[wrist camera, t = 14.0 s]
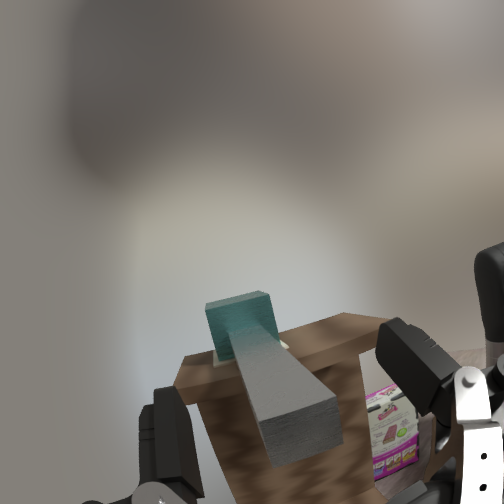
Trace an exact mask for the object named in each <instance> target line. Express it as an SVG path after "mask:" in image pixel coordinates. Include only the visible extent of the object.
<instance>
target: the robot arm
mask: <svg viewBox="0 0 504 504" xmlns="http://www.w3.org/2000/svg"><path fill="white" fill-rule="evenodd" d="M474 273H475V281H476V286H477V291H478V296H479V302H480V308H481V316H482V321H483V325H484V328H485V339H486V368H485V369H482V370H479V369H477V368H475V367H471V366H465V367H461V366H460V365H459V364H458V363H457V362H456V361H455V360H454V359H453V358H452V357H451V356H450V355H449V354H447V353H446V352H445V351H444V350H443V349H442V348H441V347H440V346H439V345H436V342H435V341H434V340H433V339H430V337H429V336H428V335H427V334H426V333H425V332H424V331H423V330H422V329H420V328H417V327H415V326H413V325H411V324H410V325H407V324H406V323H405V322H404V321H402V320H401V319H400V318H398V317H396V318H393V319H391V320H389V321H386V322H384V323H382V324H380V326H379V331H378V338H377V344H376V350H375V353H376V358H377V361H378V363H379V364H380V365H381V367H382V368H383V369H384V370H385V372H386V373H387V374H388V375H389V376H390V377H391V379H392V380H393V381H394V383H395V384H396V385H397V386H398V387H399V389H400V390H401V391H402V392H403V394H404V395H405V396H406V397H407V399H408V400H409V401H410V402H411V403H412V405H413V406H414V407H415V408H416V410H417V411H418V412H419V413H420V415H421V416H422V417H424V416H425V415H427V414H428V413H430V412H432V413H433V414H434V416H433V420H432V441H431V454H430V460H429V463H428V465H427V467H426V470H425V474H424V480H423V482H422V480H419V481H418V482H416V483H415V484H413V485H411V486H410V487H408V488H406V489H405V490H403V491H401V492H400V493H398V494H396V495H395V496H394V497H393V498H391V499H390V500H389V501H388V502H387V503H386V504H504V489H502V488H503V454H502V450H503V451H504V242H502V243H500V244H498V245H495V246H492V247H490V248H487V249H484V250H482V251H480V252H479V253H478V254H477V255H476V258H475V263H474ZM139 467H140V469H139V470H140V481H139V485H138V487H137V488H136V490H135V491H134V493H133V494H132V495H131V496H129V497H127V498H125V499H122V500H119V501H116V502H113V503H109V504H197V500H196V499H198V498H204V497H205V496H204V491H203V486H202V481H201V476H200V471H199V465H198V459H197V454H196V448H195V441H194V435H193V428H192V422H191V418H190V415H189V412H188V409H187V407H186V406H185V404H184V402H183V400H182V398H181V396H180V394H179V392H178V390H177V389H176V387H175V386H169V387H164V388H159V389H155V390H154V404H150V405H145V406H144V407H143V409H142V412H141V414H140V416H139ZM82 504H103V503H101V502H98V501H93V500H92V501H86V502H84V503H82Z"/></svg>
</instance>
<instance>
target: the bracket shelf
mask: <svg viewBox="0 0 504 504" xmlns="http://www.w3.org/2000/svg"><path fill="white" fill-rule="evenodd" d="M389 320H391V319H385V318H378V317H370V316H363V315H356V314H350V313H340V314H338V315H335V316H332V317H329V318H326V319H322V320H319V321H317V322H313V323H310V324H307V325H304V326H300V327H297V328H294V329H290V330H287V331H284V332H280V333H278V334H279V338H280V342H281V345H282V346H283V347H284V348H285V349H286V350H287V351H288V352H289V353H290V354H291V355H292V356H293V357H295V358H296V359H297V360H298V361H299V362H300V363H301V364H302V365H303V366H304V367H305V368H306V369H307V370H309V371H310V372H311V373H312V374H313V375H314V376H315V377H316V378H317V379H318V380H319V381H321V382H322V383H323V384H324V385H325V386H326V387H327V388H328V389H329V390H331V391H332V392H333V393H334V394H335V395H336V396H337V402H338V408H339V415H340V421H341V428H342V435H343V442H344V444H342V445H339V446H337V447H335V448H332V449H330V450H327V451H324V452H322V453H319V454H316V455H314V456H311V457H308V458H305V459H302V460H299V461H296V462H293V463H290V464H287V465H283V466H280V467H277V468H273V467H272V464H271V462H270V459H269V456H268V454H267V451H266V448H265V445H264V443H263V440H262V437H261V434H260V431H259V429H258V426H257V423H256V420H255V417H254V414H253V411H252V409H251V406H250V403H249V400H248V397H247V394H246V391H245V388H244V385H243V382H242V379H241V376H240V372H239V369H238V366H237V363H236V360H235V358H231V359H227V360H223V361H219V360H218V356H217V353H216V350H211V351H207V352H203V353H198V354H194V355H190V356H185V357H184V360H183V362H182V364H181V367H180V369H179V372H178V374H177V377H176V379H175V381H174V384H173V386H175V387H176V389H177V390H178V392H179V394H180V396H181V398H182V400H183V402H184V404H185V405H191V404H195V403H197V406H198V408H199V411H200V414H201V417H202V420H203V422H204V425H205V428H206V431H207V433H208V436H209V439H210V441H211V444H212V446H213V449H214V452H215V454H216V457H217V459H218V461H219V464H220V466H221V469H222V471H223V473H224V476H225V478H226V480H227V483H228V485H229V487H230V489H231V492H232V494H233V496H234V498H235V500H236V503H237V504H386V503H387V502H388V500H387V499H386V498H385V497H384V496H383V495H382V494H381V493H380V492H379V491H378V490H377V489H376V488H375V484H374V469H373V457H372V446H371V437H370V428H369V420H368V412H367V405H366V398H365V391H364V384H363V378H362V372H361V366H360V361H359V354H361V353H363V352H366V351H368V350H371V349H373V348H375V347H376V344H377V338H378V331H379V326H380V324H382V323H384V322H386V321H389Z"/></svg>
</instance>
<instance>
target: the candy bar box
mask: <svg viewBox="0 0 504 504" xmlns="http://www.w3.org/2000/svg"><path fill="white" fill-rule="evenodd" d="M365 398H366V405H367V412H368V420H369V428H370V437H371V446H372V457H373V469H374V482H375V481H378V480H380V479H382V478H384V477H386V476H388V475H390V474H392V473H395V472H397V471H399V470H401V469H402V468H404V467H406V466H408V465H410V464H412V463H414V462H416V461H417V460H419V427H418V411H417V410H416V408H415V407H414V406H413V405H412V403H411V402H410V401H409V400H408V399H407V397H406V396H405V395H404V394H403V392H402V391H401V390H400V389H399V387H398V386H397V385H396V384H392V385H390V386H388V387H386V388H383V389H381V390H379V391H377V392H374V393H372V394H370V395H367V396H365Z"/></svg>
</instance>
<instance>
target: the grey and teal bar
mask: <svg viewBox="0 0 504 504" xmlns="http://www.w3.org/2000/svg"><path fill="white" fill-rule="evenodd" d="M205 312H206V316H207V320H208V323H209V327H210V331H211V335H212V338H213V342H214V345H215V348H216V353H217V356H218V360H219V361H223V360H227V359H231V358H235V360H236V363H237V366H238V369H239V372H240V376H241V379H242V382H243V385H244V388H245V391H246V394H247V397H248V400H249V403H250V406H251V409H252V411H253V414H254V417H255V420H256V423H257V426H258V429H259V431H260V434H261V437H262V440H263V443H264V445H265V448H266V451H267V454H268V456H269V459H270V462H271V464H272V467H273V468H277V467H280V466H283V465H287V464H290V463H293V462H296V461H299V460H302V459H305V458H308V457H311V456H314V455H316V454H319V453H322V452H324V451H327V450H330V449H332V448H335V447H337V446H339V445H342V444H344V442H343V435H342V428H341V421H340V415H339V408H338V402H337V396H336V395H335V394H334V393H333V392H332V391H331V390H329V389H328V388H327V387H326V386H325V385H324V384H323V383H322V382H321V381H319V380H318V379H317V378H316V377H315V376H314V375H313V374H312V373H311V372H310V371H309V370H307V369H306V368H305V367H304V366H303V365H302V364H301V363H300V362H299V361H298V360H297V359H296V358H295V357H293V356H292V355H291V354H290V353H289V352H288V351H287V350H286V349H285V348H284V347H283V346H282V345H281V342H280V338H279V334H278V329H277V326H276V321H275V317H274V313H273V308H272V304H271V300H270V296H269V294H267V293H264V292H261V291H255V292H251V293H247V294H243V295H239V296H236V297H231V298H227V299H223V300H219V301H215V302H211V303H206V307H205Z"/></svg>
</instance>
